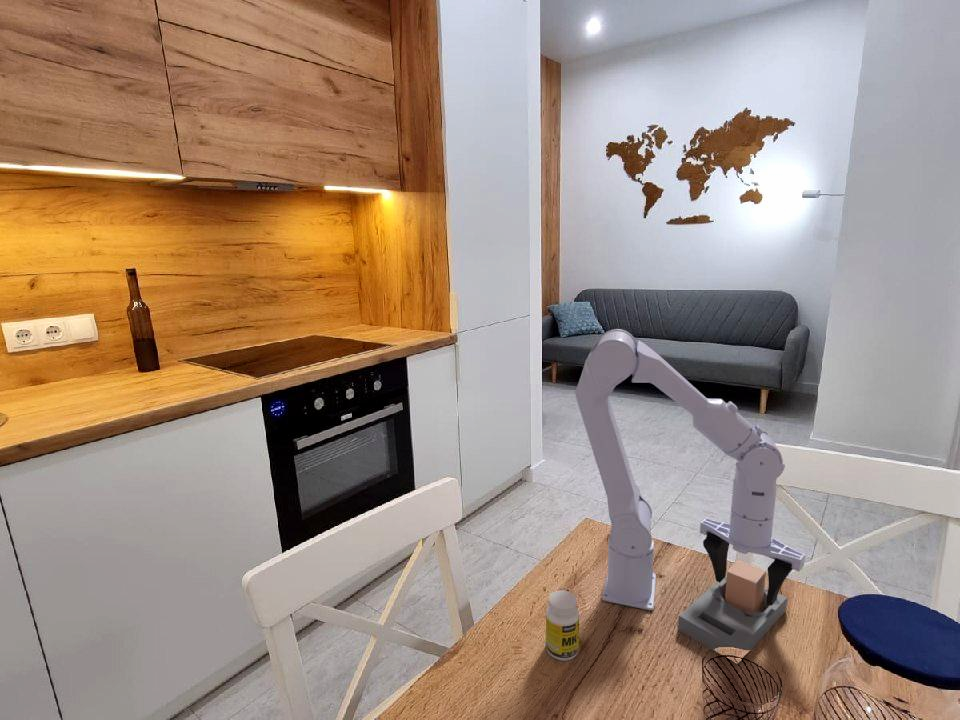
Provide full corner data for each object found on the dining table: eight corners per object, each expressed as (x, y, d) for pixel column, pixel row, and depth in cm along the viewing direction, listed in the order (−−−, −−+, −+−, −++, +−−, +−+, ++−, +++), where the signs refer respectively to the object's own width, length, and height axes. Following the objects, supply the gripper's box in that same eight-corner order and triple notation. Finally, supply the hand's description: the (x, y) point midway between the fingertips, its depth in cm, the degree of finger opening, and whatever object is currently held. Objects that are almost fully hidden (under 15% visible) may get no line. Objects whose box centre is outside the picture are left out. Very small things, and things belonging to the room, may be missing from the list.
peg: (724, 610, 82) (727, 571, 81) (734, 597, 85) (738, 559, 84) (752, 623, 80) (755, 583, 78) (762, 609, 82) (766, 570, 81)
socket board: (737, 665, 72) (739, 649, 71) (677, 629, 79) (678, 615, 78) (785, 611, 82) (787, 597, 81) (728, 583, 89) (729, 570, 88)
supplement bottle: (563, 667, 73) (563, 615, 71) (539, 648, 76) (538, 598, 74) (585, 649, 76) (586, 599, 74) (561, 632, 79) (561, 583, 77)
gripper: (693, 504, 81) (688, 580, 84) (796, 540, 71) (786, 626, 74) (713, 488, 86) (708, 561, 89) (813, 521, 75) (803, 602, 78)
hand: (745, 589), depth 82 cm, fingers open, 7 cm apart
